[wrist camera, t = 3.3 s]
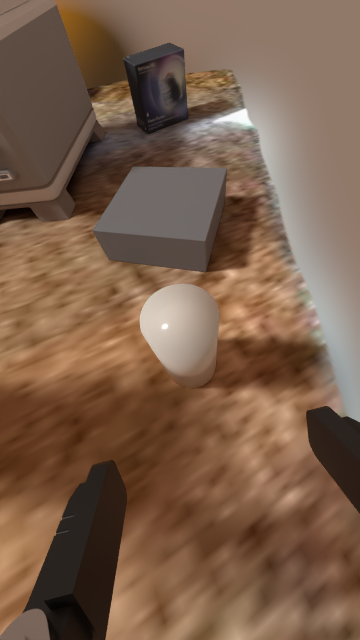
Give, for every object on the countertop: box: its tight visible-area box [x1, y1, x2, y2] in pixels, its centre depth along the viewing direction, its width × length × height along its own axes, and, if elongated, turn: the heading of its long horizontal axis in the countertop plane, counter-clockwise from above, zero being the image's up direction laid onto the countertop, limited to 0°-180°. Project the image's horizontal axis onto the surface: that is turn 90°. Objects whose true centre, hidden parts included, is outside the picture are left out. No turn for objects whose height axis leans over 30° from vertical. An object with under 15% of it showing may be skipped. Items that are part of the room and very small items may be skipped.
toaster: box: [0, 0, 106, 222], centre depth 36 cm, size 19×34×20 cm, turn 178°
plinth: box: [93, 167, 227, 272], centre depth 30 cm, size 14×14×5 cm
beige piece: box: [140, 284, 219, 388], centre depth 18 cm, size 5×5×10 cm
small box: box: [123, 43, 188, 134], centre depth 45 cm, size 11×6×10 cm, turn 118°
